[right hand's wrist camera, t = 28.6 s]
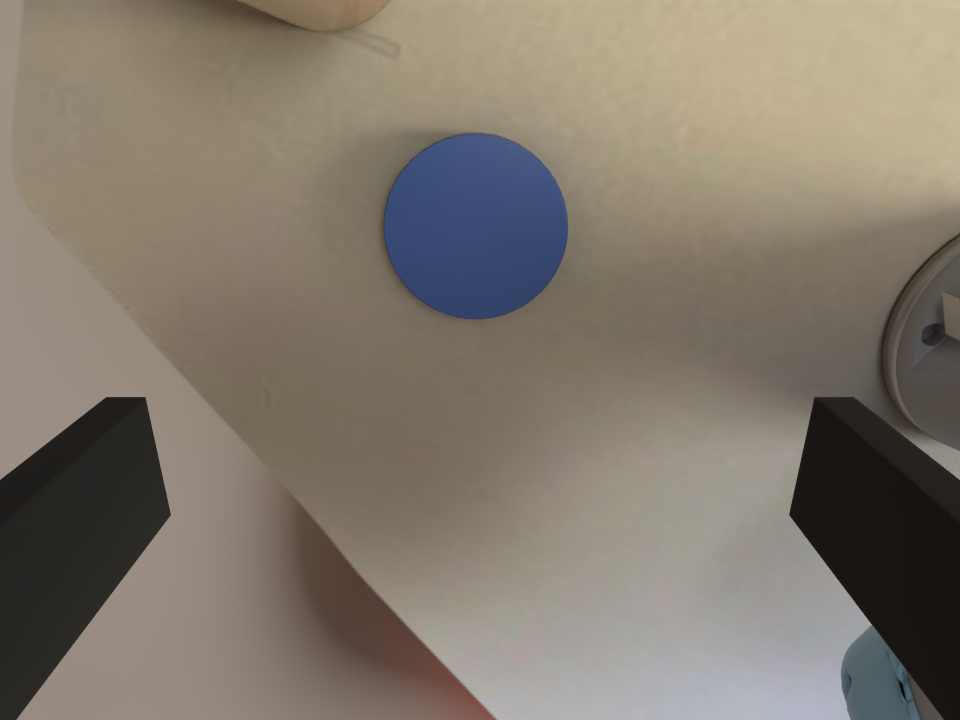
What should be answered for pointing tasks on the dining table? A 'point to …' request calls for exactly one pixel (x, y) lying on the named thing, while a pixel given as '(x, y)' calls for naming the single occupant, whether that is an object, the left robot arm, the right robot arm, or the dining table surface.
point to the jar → (320, 12)
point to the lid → (475, 226)
